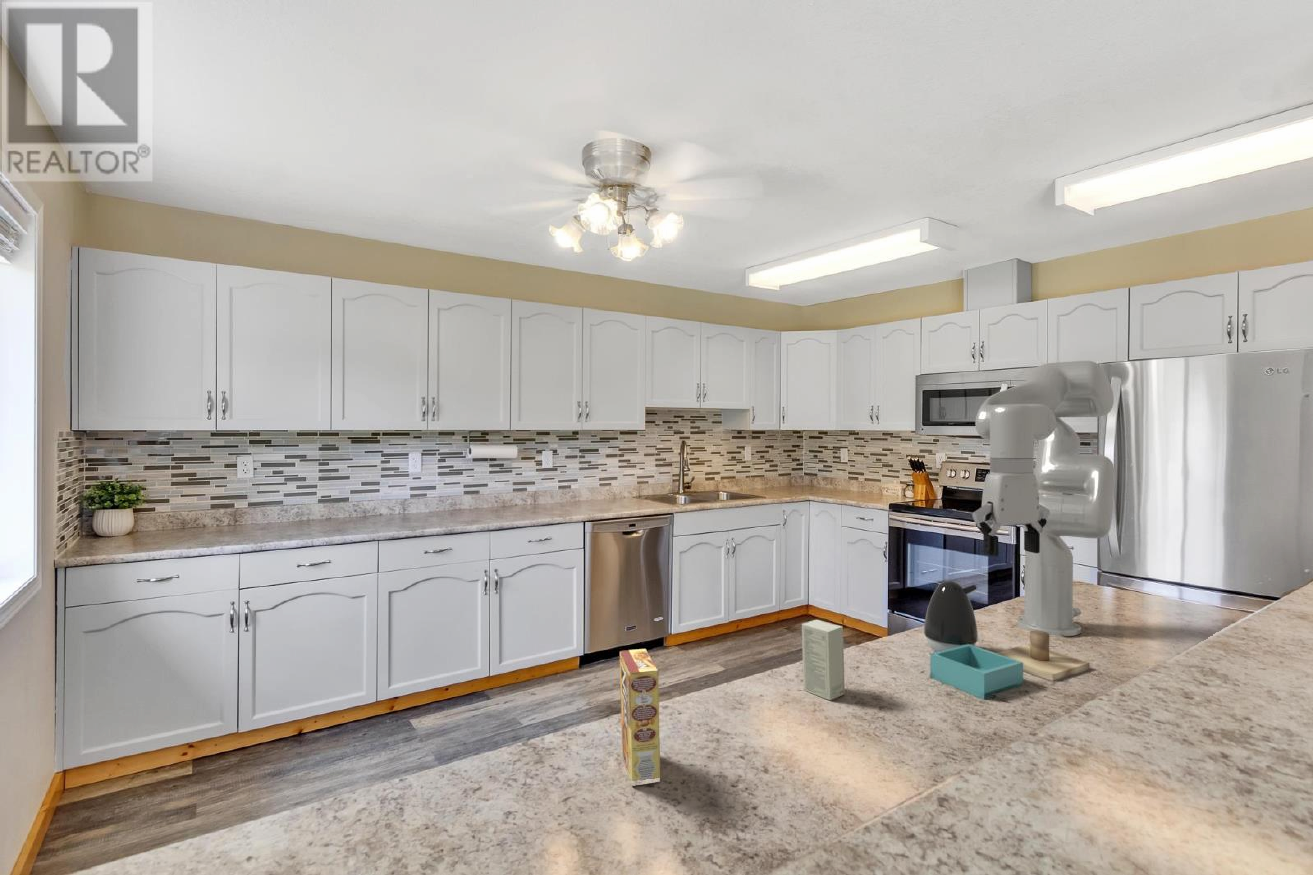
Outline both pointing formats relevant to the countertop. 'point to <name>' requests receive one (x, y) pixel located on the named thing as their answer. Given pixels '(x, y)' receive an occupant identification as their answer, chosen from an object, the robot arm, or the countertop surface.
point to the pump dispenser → (950, 617)
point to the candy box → (640, 714)
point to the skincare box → (823, 659)
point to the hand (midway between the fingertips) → (1011, 553)
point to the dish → (976, 670)
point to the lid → (1044, 658)
